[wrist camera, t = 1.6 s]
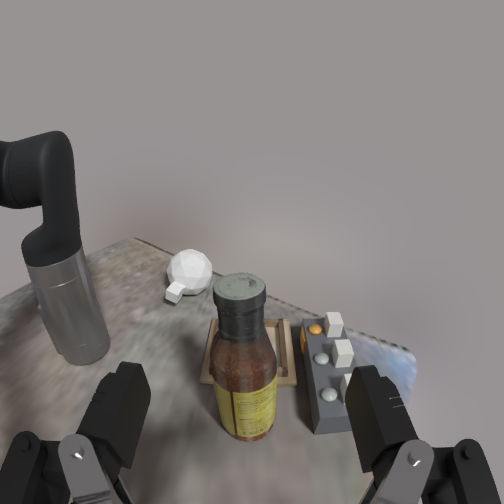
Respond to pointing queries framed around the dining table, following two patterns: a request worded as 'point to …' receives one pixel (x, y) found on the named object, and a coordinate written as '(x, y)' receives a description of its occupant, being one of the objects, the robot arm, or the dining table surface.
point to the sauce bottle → (243, 358)
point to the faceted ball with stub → (188, 274)
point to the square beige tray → (280, 343)
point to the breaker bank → (327, 371)
